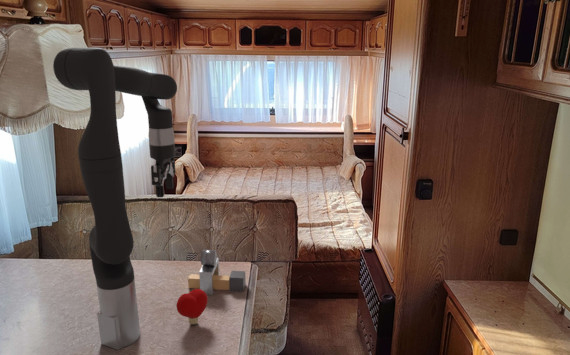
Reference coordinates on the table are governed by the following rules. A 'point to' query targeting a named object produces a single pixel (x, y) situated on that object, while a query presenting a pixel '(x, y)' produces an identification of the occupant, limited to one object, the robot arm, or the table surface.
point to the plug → (222, 281)
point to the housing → (208, 270)
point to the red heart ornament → (192, 304)
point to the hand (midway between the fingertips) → (165, 192)
